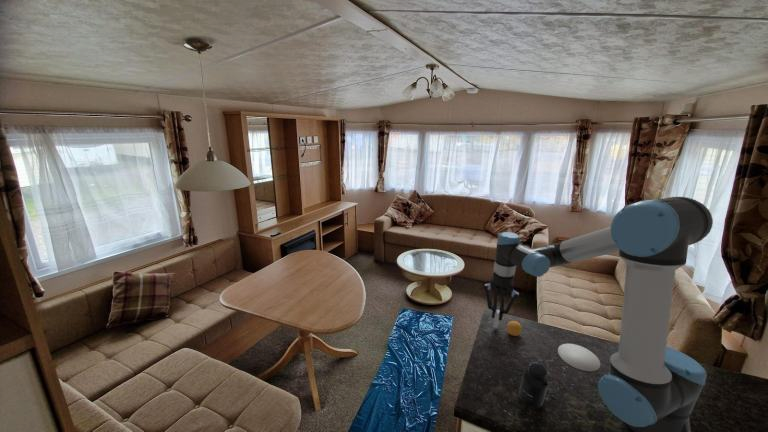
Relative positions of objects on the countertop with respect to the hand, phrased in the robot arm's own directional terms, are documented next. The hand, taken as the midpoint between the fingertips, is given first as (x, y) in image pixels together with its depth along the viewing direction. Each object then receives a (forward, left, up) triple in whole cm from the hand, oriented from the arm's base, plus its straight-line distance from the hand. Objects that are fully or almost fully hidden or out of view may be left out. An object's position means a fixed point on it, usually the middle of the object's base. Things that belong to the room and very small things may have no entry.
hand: (495, 325), depth 124 cm
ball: (0, -7, +1) cm, 7 cm away
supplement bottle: (-28, -17, -2) cm, 32 cm away
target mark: (0, -29, -2) cm, 29 cm away
